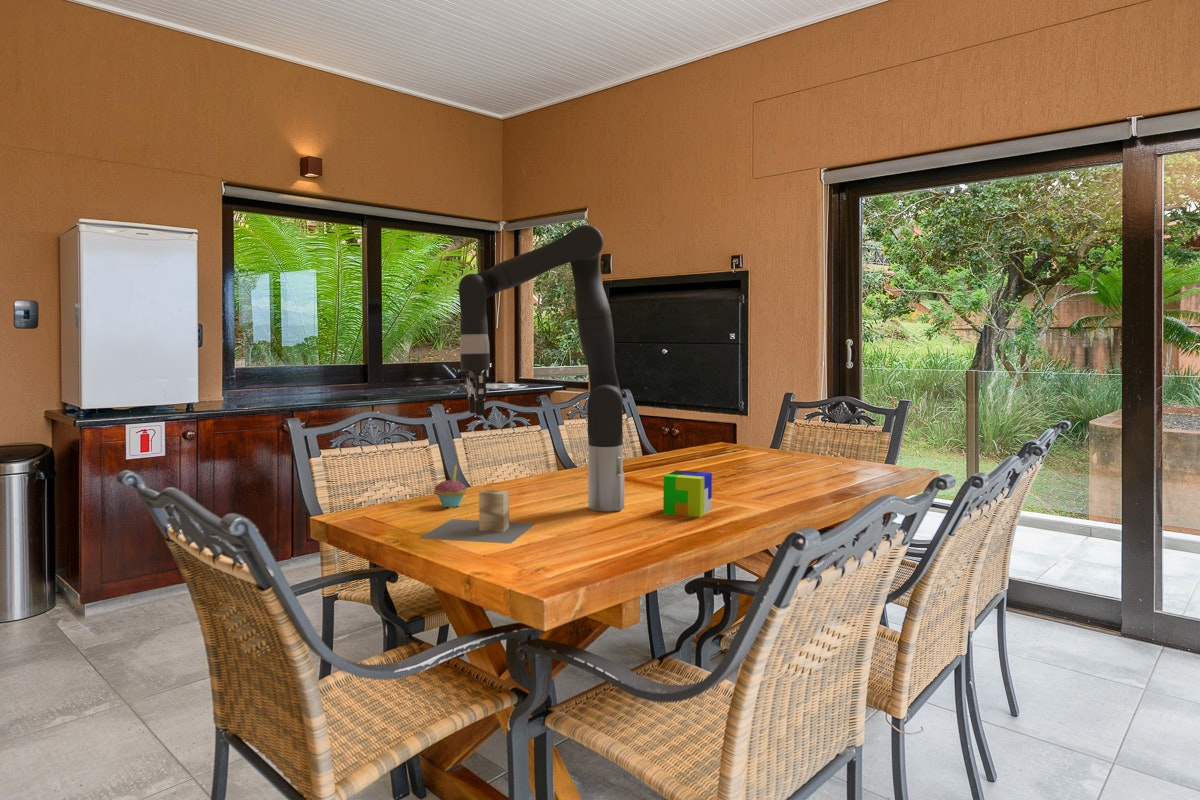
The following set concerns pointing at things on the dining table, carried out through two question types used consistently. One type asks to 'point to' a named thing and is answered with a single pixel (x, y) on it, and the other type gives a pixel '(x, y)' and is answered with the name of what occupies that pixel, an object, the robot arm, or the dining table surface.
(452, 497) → the cupcake
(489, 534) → the mat
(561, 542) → the dining table surface
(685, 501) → the puzzle toy
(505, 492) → the block
